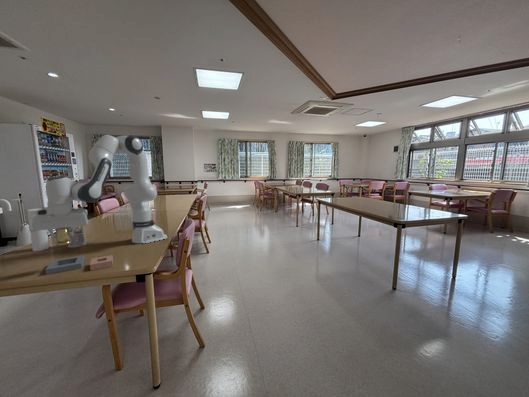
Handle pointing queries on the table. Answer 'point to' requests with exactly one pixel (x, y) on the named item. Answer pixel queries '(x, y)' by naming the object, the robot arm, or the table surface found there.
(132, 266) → the table surface
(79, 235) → the french press
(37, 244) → the cylindrical container
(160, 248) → the table surface
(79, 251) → the table surface
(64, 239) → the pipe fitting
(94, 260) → the small socket
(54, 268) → the socket block
